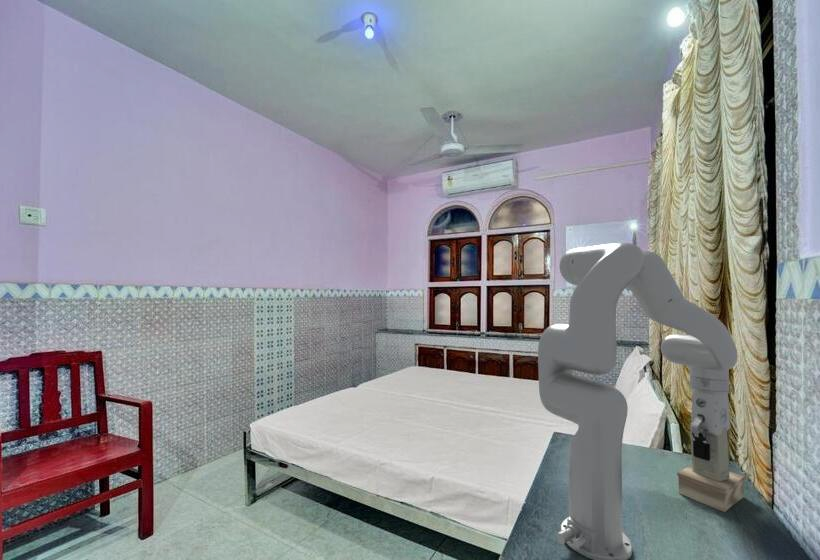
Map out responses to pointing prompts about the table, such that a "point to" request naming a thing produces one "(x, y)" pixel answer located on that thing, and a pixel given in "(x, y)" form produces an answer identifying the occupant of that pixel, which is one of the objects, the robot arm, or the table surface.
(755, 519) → the table surface
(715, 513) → the table surface
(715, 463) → the skincare box
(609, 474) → the robot arm
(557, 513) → the table surface
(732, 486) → the birch trinket box
